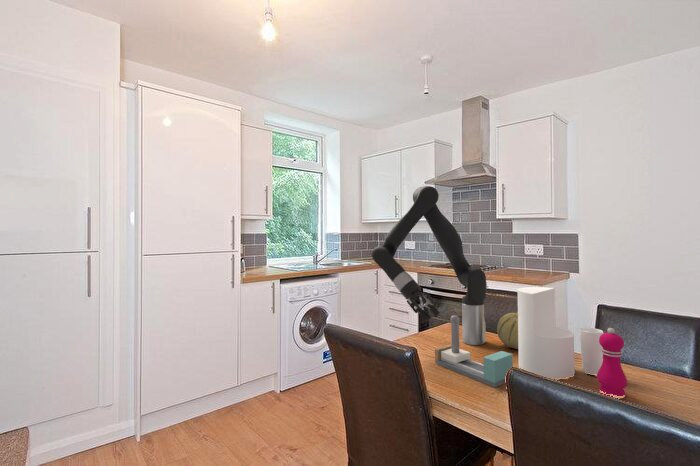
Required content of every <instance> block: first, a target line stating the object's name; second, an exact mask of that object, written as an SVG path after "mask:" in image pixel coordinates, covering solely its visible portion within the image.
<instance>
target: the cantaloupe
mask: <svg viewBox="0 0 700 466" xmlns="http://www.w3.org/2000/svg"><path fill="white" fill-rule="evenodd" d="M496 332H497V335H498V338H499V340H500V341H501V342H502V343H503V344H504V345H505V346H506V347H508V348H511V349H515V350H518V312H508V313H506V314H504V315H503V316H502V317H501V318H500V319H499V320H498V322H497V326H496Z"/></svg>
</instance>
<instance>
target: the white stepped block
mask: <svg viewBox="0 0 700 466" xmlns="http://www.w3.org/2000/svg"><path fill="white" fill-rule="evenodd" d="M517 313H518V349H517V350H518V368H519V369H520V368H521V369H524V370H527V371H530V372H533V373H536V374H539V375H542V376H545V377H549V378H552V377H553V378H552V379H555V378H566V377H570V376H573V375H574V374H576V373H575V370H576V369H575V368H576V367H575V334H574V332H573V331H571V330H570V329H567V328H564V327H561V326H556V322H557V321H556V316H557V315H556V288H555V287H543V286H524V287H519V288H517ZM521 369H520V370H521ZM554 381H558V380H557V379H555V380H554Z"/></svg>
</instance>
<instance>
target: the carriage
mask: <svg viewBox="0 0 700 466" xmlns="http://www.w3.org/2000/svg"><path fill="white" fill-rule="evenodd" d="M460 319H461V318H460V317H459V316H458V315H456V314H454V315H453V314H452V315H451V316H450V319H449V320H450V331H451V332H450V333H451V336H450V337H451V338H450V339H451V341H450V342H451V343H450V344H451V345H452V348H451V349H448V350H444V351H441V358H444V359H446V360H449V361H452V362H454V363H458V362H461V361H464V360H467V359H470V360H471V352H470V351H467V350H465V349H461V348H460V321H461V320H460Z"/></svg>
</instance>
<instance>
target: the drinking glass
mask: <svg viewBox="0 0 700 466" xmlns="http://www.w3.org/2000/svg"><path fill="white" fill-rule="evenodd" d="M603 333H605V332H604V331H603V330H602V329H599V328H595V327H594V328H593V327H581V328H580V329H579V343H580V345H579V346H580V353H581V361H582V372H583V371H584V372H586V373H590V374H598V371H599V369H600V367H601V365H602V363H603V354H602V353H601V351H602V350H601V348H603V347H602V346H601V345H600V343H599V337H600V336H601V335H602V334H603ZM584 372H583V373H584Z"/></svg>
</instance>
